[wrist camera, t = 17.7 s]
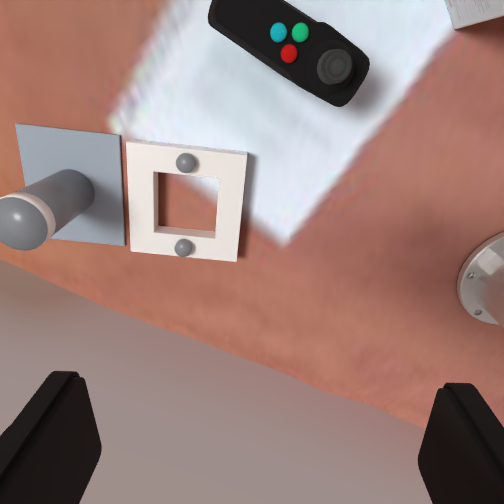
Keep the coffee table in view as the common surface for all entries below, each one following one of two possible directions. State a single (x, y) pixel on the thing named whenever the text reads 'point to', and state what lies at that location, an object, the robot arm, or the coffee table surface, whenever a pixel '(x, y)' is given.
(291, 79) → the controller
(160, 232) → the frame
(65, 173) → the cartridge
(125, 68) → the coffee table surface
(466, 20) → the small box
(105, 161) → the mat
